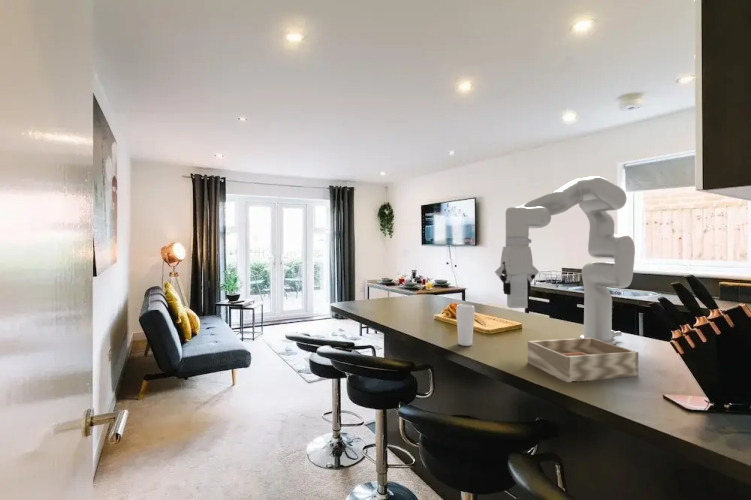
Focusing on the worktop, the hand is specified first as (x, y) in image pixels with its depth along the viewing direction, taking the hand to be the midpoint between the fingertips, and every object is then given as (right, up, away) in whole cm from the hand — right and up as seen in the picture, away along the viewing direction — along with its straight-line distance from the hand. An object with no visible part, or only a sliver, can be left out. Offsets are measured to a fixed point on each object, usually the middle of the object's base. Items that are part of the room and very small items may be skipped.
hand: (516, 293), depth 131 cm
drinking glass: (-15, -21, +14) cm, 29 cm away
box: (+14, -22, -15) cm, 30 cm away
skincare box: (0, -5, 0) cm, 5 cm away
